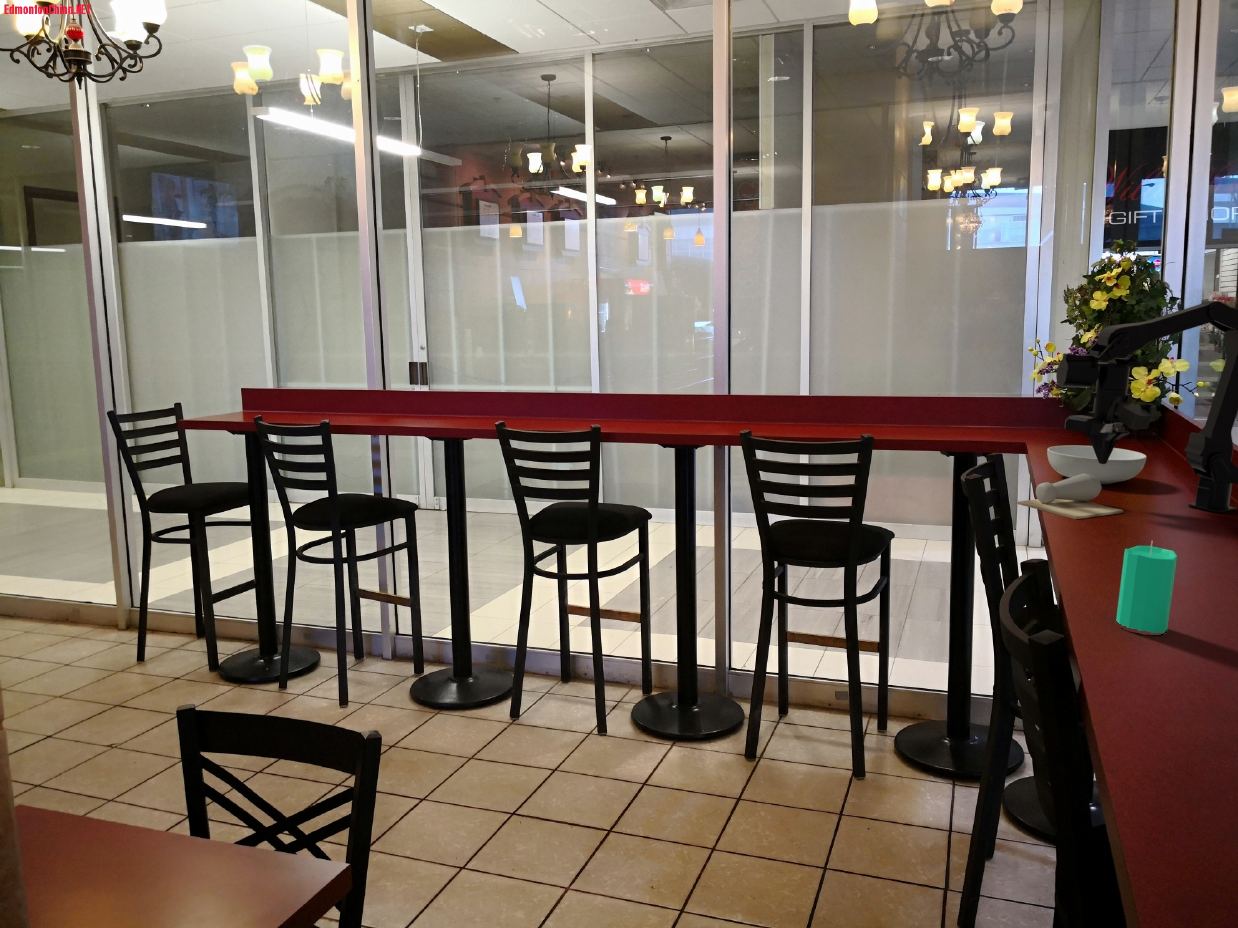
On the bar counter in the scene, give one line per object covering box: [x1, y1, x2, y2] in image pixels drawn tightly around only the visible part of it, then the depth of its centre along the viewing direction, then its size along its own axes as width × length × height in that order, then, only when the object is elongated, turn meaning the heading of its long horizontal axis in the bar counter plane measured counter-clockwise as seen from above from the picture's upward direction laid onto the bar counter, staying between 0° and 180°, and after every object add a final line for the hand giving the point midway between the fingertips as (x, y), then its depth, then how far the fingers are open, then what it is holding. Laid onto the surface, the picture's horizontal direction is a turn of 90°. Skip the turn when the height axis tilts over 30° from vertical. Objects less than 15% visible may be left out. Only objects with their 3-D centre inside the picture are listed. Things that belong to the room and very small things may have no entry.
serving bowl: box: [1046, 445, 1147, 485], centre depth 226 cm, size 21×21×7 cm
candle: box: [1115, 539, 1178, 633], centre depth 127 cm, size 6×6×12 cm
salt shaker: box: [1035, 473, 1103, 503], centre depth 199 cm, size 6×6×13 cm
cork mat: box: [1016, 498, 1124, 520], centre depth 197 cm, size 14×14×1 cm
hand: (1102, 463), depth 199 cm, fingers closed
